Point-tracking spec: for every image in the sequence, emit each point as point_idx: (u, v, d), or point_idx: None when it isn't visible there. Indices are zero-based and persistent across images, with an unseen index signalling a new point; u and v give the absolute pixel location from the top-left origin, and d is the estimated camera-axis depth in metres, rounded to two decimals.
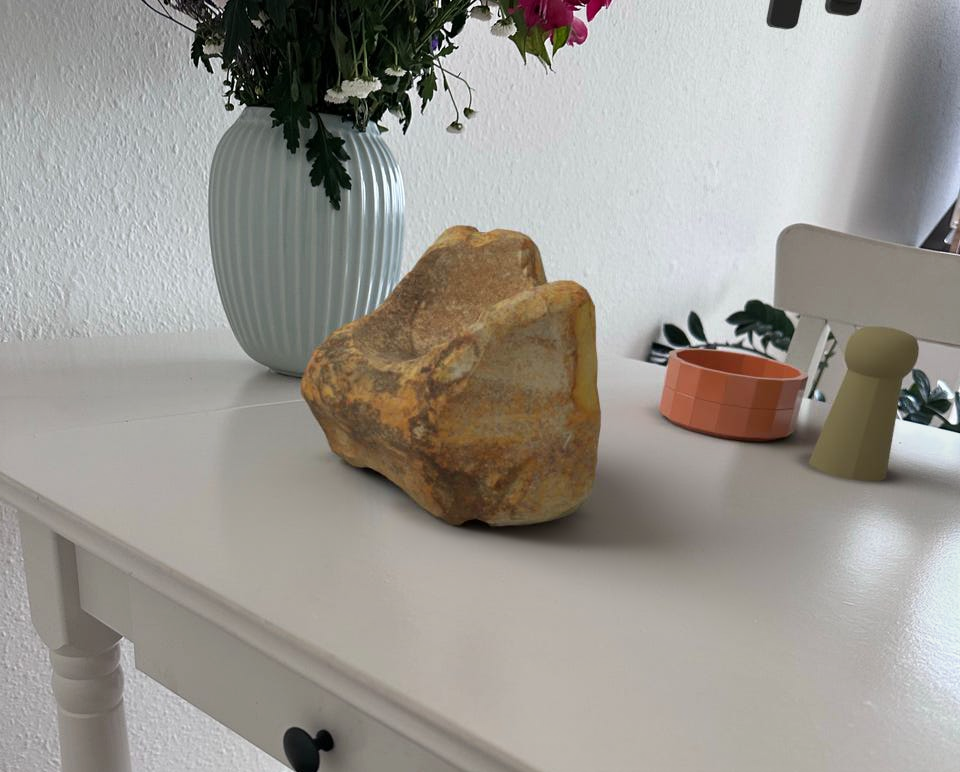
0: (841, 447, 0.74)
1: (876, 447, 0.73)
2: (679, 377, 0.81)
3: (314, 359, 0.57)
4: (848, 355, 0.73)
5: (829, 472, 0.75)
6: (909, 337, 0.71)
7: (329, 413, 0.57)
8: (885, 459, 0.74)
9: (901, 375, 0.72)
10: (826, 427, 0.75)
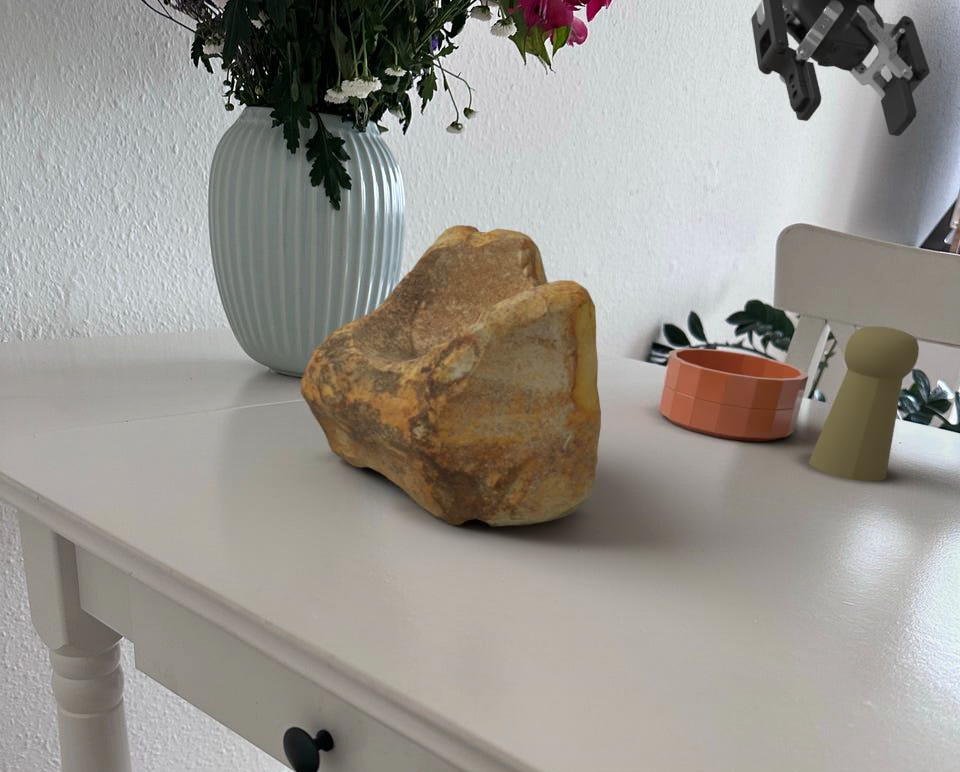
0: (841, 447, 0.74)
1: (876, 447, 0.73)
2: (679, 377, 0.81)
3: (314, 359, 0.57)
4: (848, 355, 0.73)
5: (829, 472, 0.75)
6: (909, 337, 0.71)
7: (329, 413, 0.57)
8: (885, 459, 0.74)
9: (901, 375, 0.72)
10: (826, 427, 0.75)
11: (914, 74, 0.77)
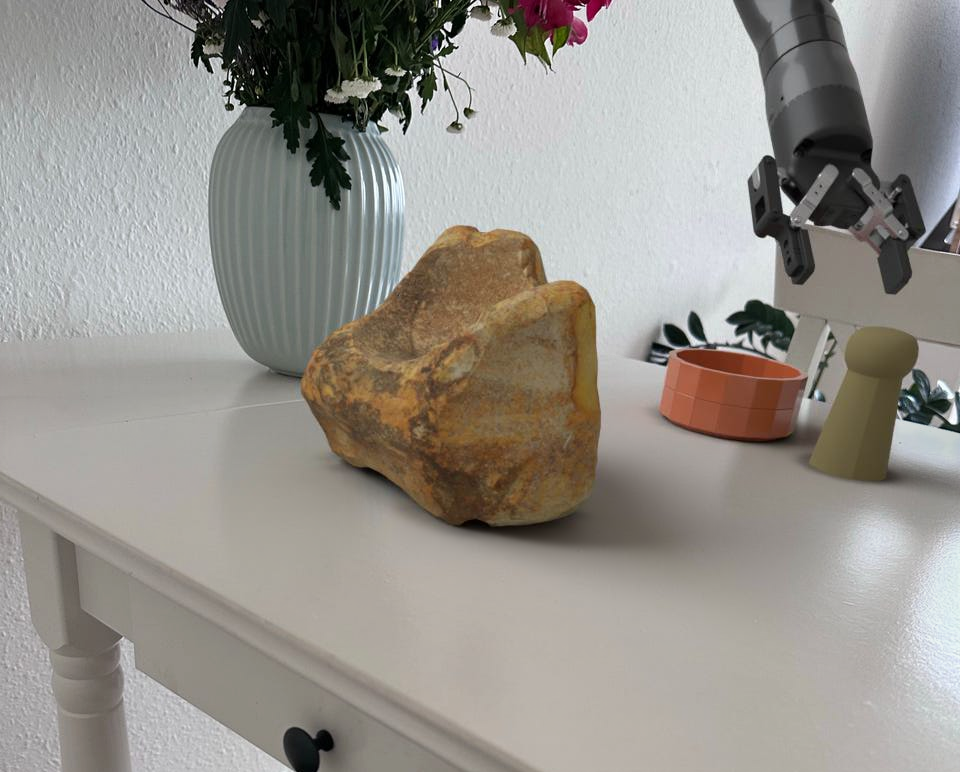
0: (841, 447, 0.74)
1: (876, 447, 0.73)
2: (679, 377, 0.81)
3: (314, 359, 0.57)
4: (848, 355, 0.73)
5: (829, 472, 0.75)
6: (909, 337, 0.71)
7: (329, 413, 0.57)
8: (885, 459, 0.74)
9: (901, 375, 0.72)
10: (826, 427, 0.75)
11: (910, 233, 0.78)
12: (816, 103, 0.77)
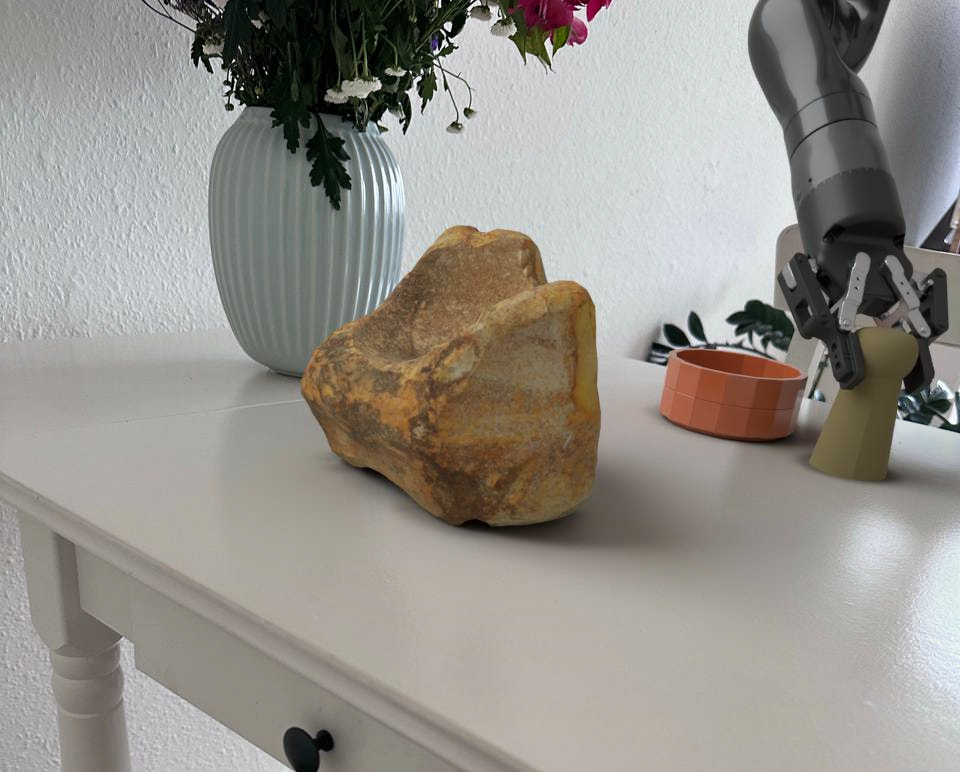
0: (841, 447, 0.74)
1: (876, 447, 0.73)
2: (679, 377, 0.81)
3: (314, 359, 0.57)
4: None
5: (829, 472, 0.75)
6: (909, 337, 0.71)
7: (329, 413, 0.57)
8: (885, 459, 0.74)
9: (901, 375, 0.72)
10: (826, 427, 0.75)
11: (932, 329, 0.74)
12: (847, 187, 0.73)
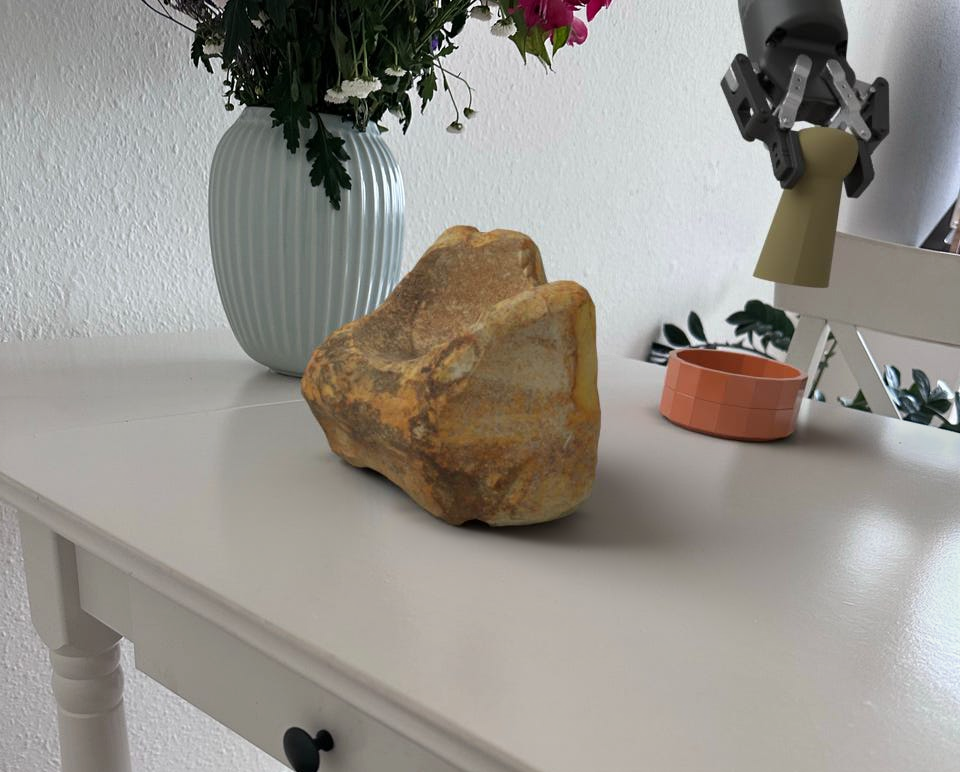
0: (783, 250, 0.75)
1: (817, 250, 0.74)
2: (679, 377, 0.81)
3: (314, 359, 0.57)
4: None
5: (772, 278, 0.76)
6: (848, 133, 0.72)
7: (329, 413, 0.57)
8: (827, 264, 0.75)
9: (840, 173, 0.72)
10: (769, 234, 0.76)
11: (873, 134, 0.75)
12: None
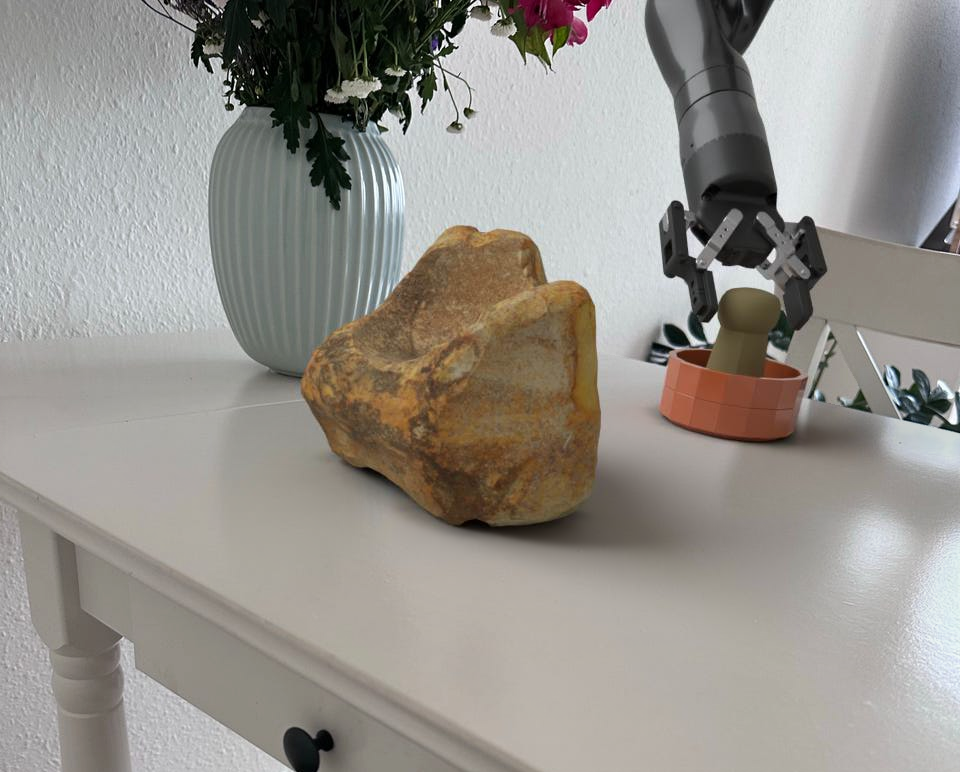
0: None
1: None
2: (679, 377, 0.81)
3: (314, 359, 0.57)
4: (719, 313, 0.81)
5: None
6: (770, 296, 0.80)
7: (329, 413, 0.57)
8: None
9: (764, 330, 0.80)
10: None
11: (813, 272, 0.83)
12: (722, 151, 0.81)
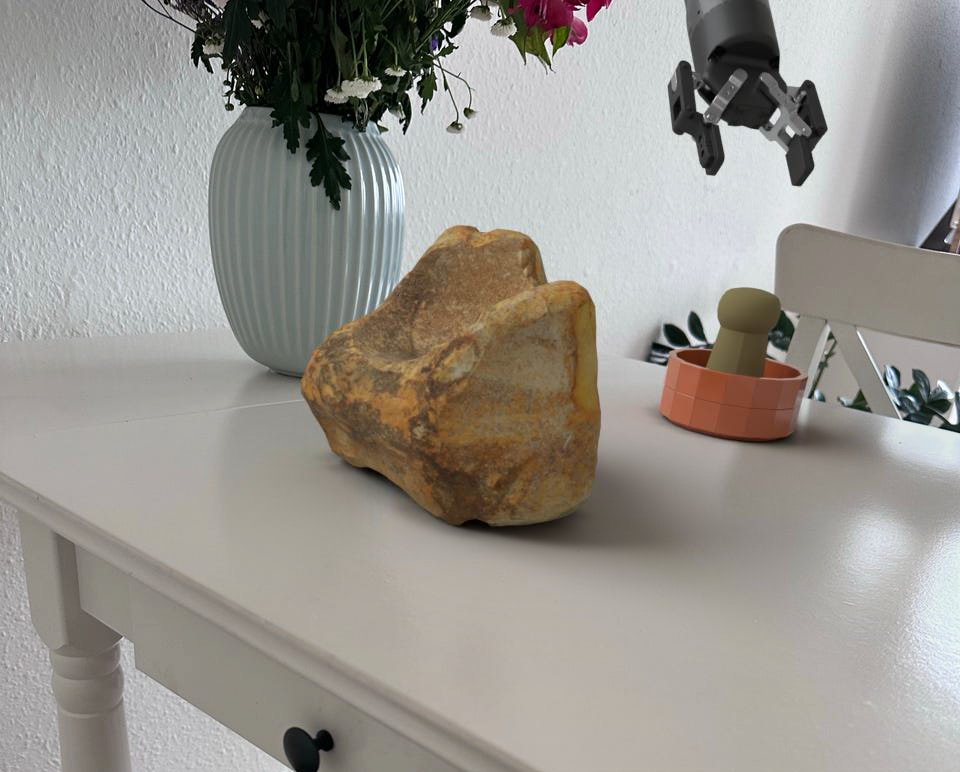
0: None
1: None
2: (679, 377, 0.81)
3: (314, 359, 0.57)
4: (719, 313, 0.81)
5: None
6: (770, 296, 0.80)
7: (329, 413, 0.57)
8: None
9: (764, 330, 0.80)
10: None
11: (814, 131, 0.87)
12: (727, 14, 0.86)
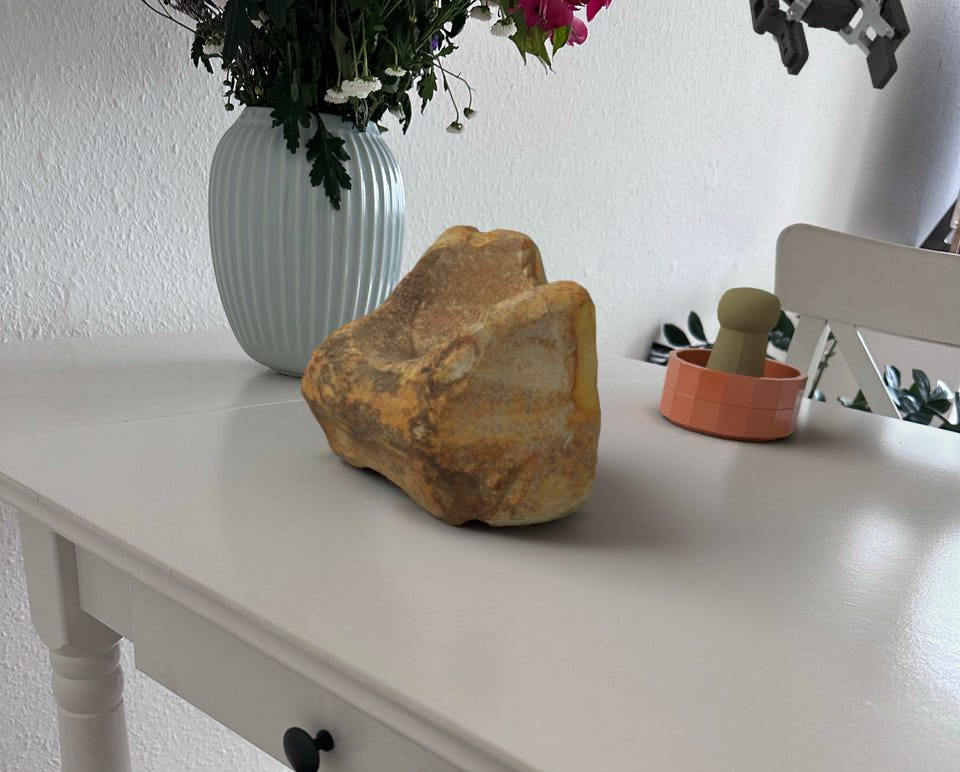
0: None
1: None
2: (679, 377, 0.81)
3: (314, 359, 0.57)
4: (719, 313, 0.81)
5: None
6: (770, 296, 0.80)
7: (329, 413, 0.57)
8: None
9: (764, 330, 0.80)
10: None
11: (896, 33, 0.86)
12: None
